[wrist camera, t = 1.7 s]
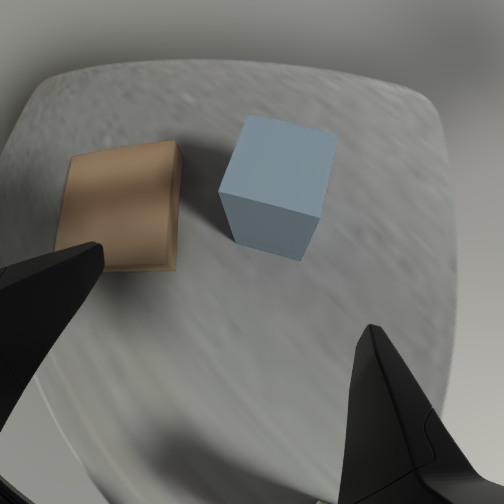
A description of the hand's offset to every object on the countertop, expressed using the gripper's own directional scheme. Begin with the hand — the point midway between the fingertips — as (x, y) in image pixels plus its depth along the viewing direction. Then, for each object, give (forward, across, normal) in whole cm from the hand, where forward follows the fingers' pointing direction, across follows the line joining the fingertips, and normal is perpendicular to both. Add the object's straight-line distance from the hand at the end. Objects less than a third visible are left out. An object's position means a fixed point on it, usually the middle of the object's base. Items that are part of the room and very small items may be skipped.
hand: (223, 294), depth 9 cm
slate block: (+15, 0, +4) cm, 15 cm away
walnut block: (+13, +12, +6) cm, 19 cm away
